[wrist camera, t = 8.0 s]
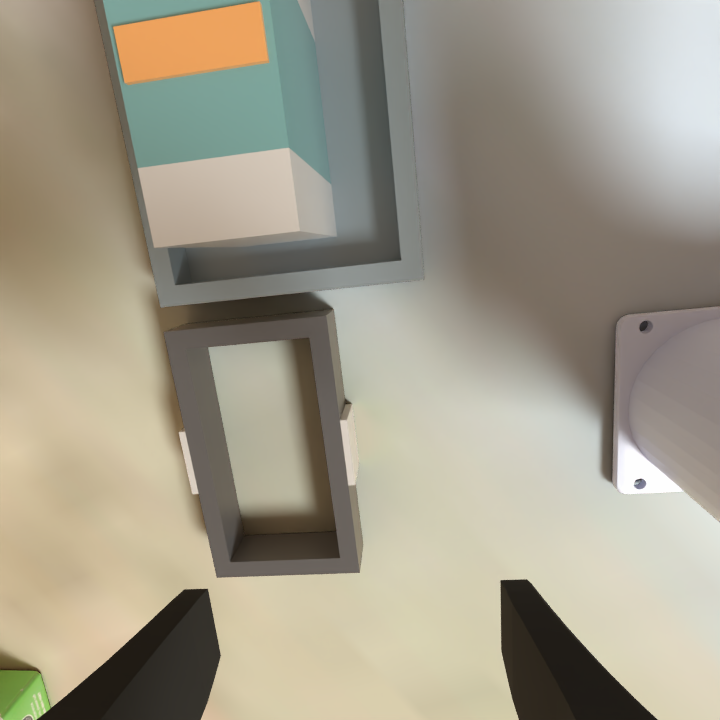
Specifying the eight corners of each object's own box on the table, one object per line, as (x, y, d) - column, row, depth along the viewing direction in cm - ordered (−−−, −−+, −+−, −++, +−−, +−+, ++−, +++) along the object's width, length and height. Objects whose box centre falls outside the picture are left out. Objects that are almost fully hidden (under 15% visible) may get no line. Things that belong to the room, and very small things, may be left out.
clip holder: (340, 308, 20) (333, 315, 18) (369, 544, 22) (366, 572, 20) (179, 324, 20) (156, 332, 19) (226, 550, 23) (210, 577, 21)
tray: (391, -117, 16) (390, -167, 14) (422, 276, 19) (424, 279, 17) (110, -59, 17) (72, -98, 15) (183, 301, 20) (160, 307, 18)
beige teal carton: (307, -22, 16) (239, -218, 9) (337, 236, 18) (298, 230, 11) (202, -2, 17) (62, -177, 10) (242, 246, 19) (151, 247, 12)
